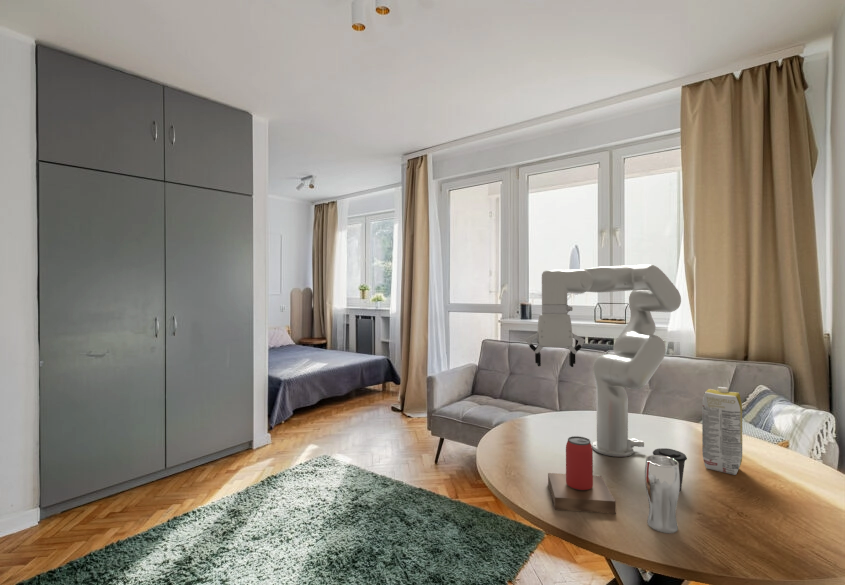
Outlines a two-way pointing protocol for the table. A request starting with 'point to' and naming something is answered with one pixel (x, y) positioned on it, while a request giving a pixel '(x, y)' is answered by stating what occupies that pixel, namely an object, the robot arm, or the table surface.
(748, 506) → the table surface
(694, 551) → the table surface
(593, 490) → the walnut base
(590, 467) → the beer can
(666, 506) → the beer glass
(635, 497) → the table surface
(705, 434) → the juice carton
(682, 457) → the coffee cup
